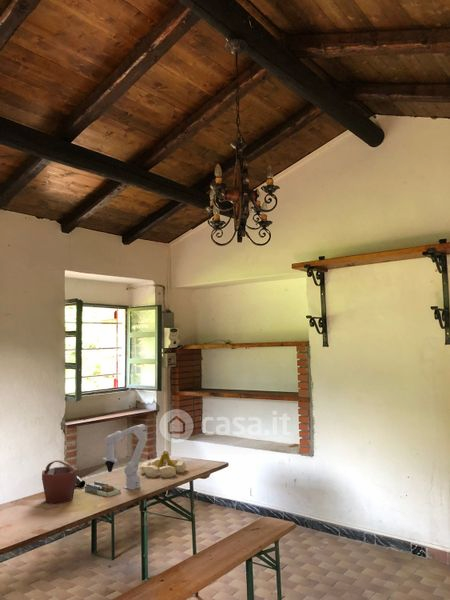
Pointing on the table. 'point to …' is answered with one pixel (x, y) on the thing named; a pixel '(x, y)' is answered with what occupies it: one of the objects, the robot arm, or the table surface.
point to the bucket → (59, 483)
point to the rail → (94, 487)
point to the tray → (116, 491)
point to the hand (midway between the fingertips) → (109, 471)
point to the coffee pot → (80, 482)
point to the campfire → (163, 466)
